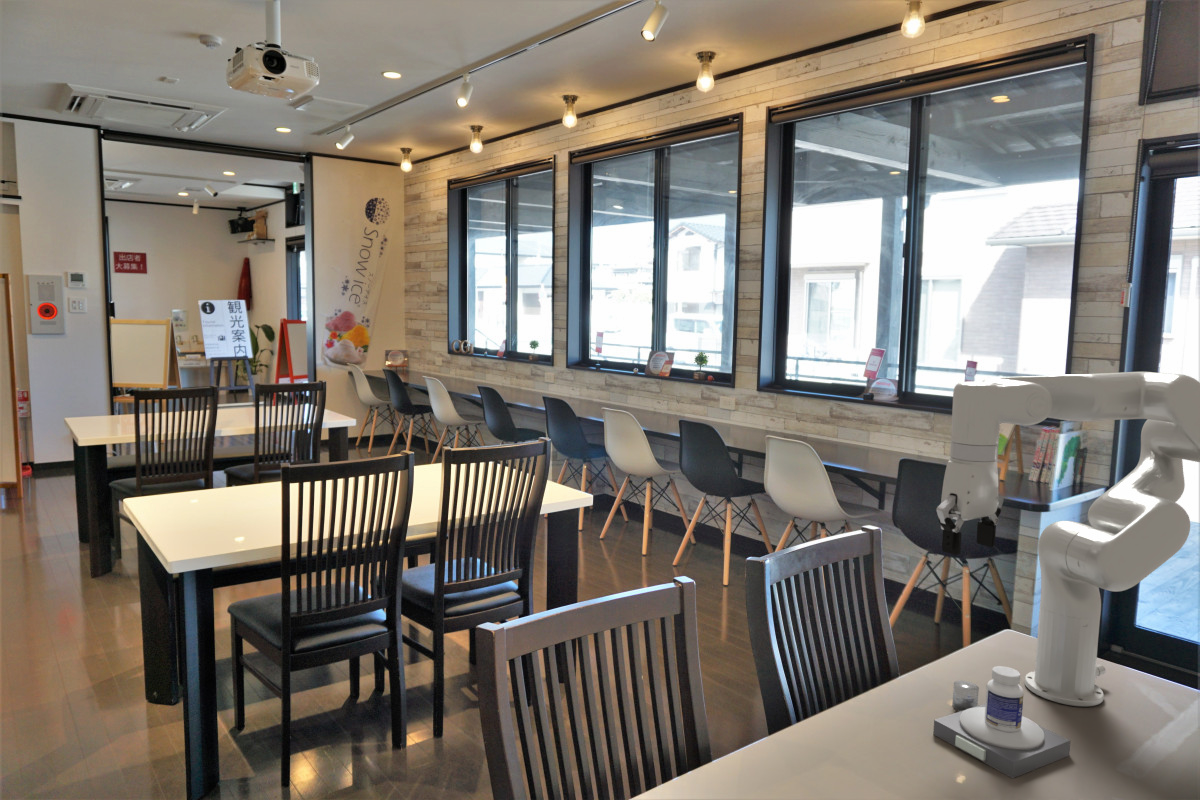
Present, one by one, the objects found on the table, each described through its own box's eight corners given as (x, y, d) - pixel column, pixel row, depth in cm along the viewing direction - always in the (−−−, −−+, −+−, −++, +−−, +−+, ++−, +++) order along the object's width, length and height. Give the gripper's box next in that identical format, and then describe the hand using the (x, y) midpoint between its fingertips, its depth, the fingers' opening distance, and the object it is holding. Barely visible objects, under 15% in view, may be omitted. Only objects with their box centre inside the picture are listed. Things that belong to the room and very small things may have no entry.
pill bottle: (1025, 735, 124) (1029, 680, 123) (989, 730, 125) (993, 676, 124) (1015, 718, 129) (1019, 666, 129) (980, 714, 130) (984, 662, 130)
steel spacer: (962, 700, 143) (963, 678, 142) (982, 709, 139) (983, 688, 139) (947, 704, 141) (948, 683, 140) (967, 714, 137) (968, 692, 137)
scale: (988, 715, 137) (990, 697, 137) (1069, 755, 125) (1070, 735, 124) (931, 735, 130) (932, 715, 130) (1010, 779, 118) (1011, 757, 117)
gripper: (984, 446, 146) (979, 537, 148) (922, 454, 137) (918, 551, 139) (1023, 452, 139) (1018, 547, 141) (962, 460, 131) (956, 562, 132)
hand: (968, 549), depth 140 cm, fingers open, 9 cm apart
